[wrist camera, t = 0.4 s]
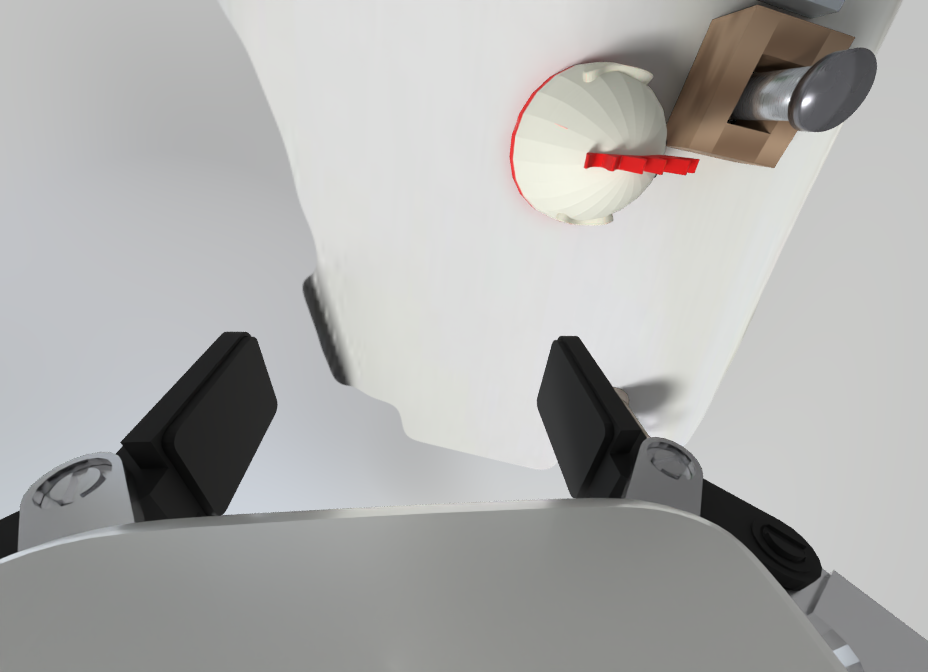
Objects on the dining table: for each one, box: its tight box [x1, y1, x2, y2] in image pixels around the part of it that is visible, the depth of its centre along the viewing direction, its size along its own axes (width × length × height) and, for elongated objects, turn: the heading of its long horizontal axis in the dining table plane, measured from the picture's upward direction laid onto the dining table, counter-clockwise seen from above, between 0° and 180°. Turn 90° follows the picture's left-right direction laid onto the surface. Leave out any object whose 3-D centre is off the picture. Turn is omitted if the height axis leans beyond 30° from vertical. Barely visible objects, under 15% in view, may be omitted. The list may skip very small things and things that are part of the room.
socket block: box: [666, 5, 855, 168], centre depth 32 cm, size 10×10×5 cm
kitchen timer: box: [510, 62, 700, 225], centre depth 29 cm, size 14×14×15 cm
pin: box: [728, 48, 877, 132], centre depth 29 cm, size 5×5×11 cm
